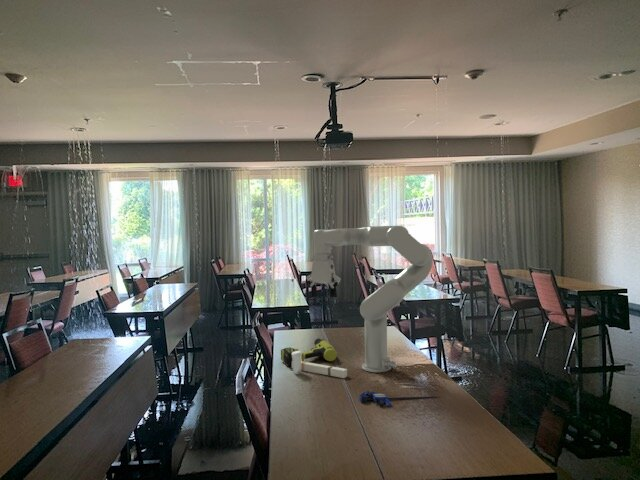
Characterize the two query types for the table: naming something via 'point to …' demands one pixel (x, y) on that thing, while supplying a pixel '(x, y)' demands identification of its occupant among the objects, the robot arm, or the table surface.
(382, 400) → the bar clamp
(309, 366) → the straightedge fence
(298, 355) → the milkshake
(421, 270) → the robot arm
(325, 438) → the table surface
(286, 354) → the cordless drill
